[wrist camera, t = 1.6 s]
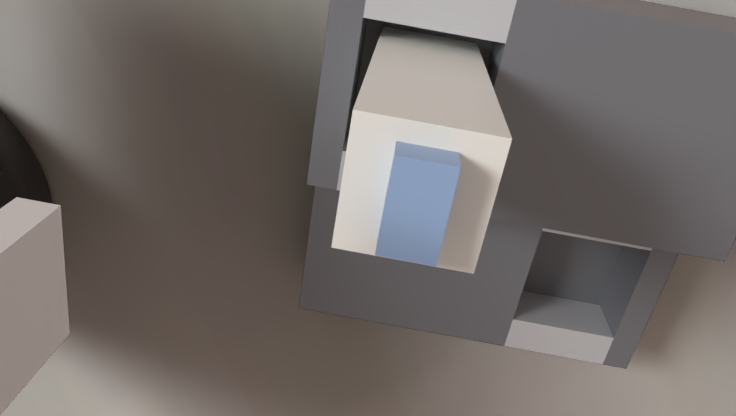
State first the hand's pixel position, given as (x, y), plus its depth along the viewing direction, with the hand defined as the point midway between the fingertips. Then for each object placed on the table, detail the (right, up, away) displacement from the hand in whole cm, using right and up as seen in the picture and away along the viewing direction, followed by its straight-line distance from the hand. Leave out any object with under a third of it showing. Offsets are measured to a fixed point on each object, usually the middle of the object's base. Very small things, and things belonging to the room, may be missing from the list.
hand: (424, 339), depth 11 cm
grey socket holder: (+6, +5, +22) cm, 23 cm away
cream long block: (+1, +8, +16) cm, 18 cm away
